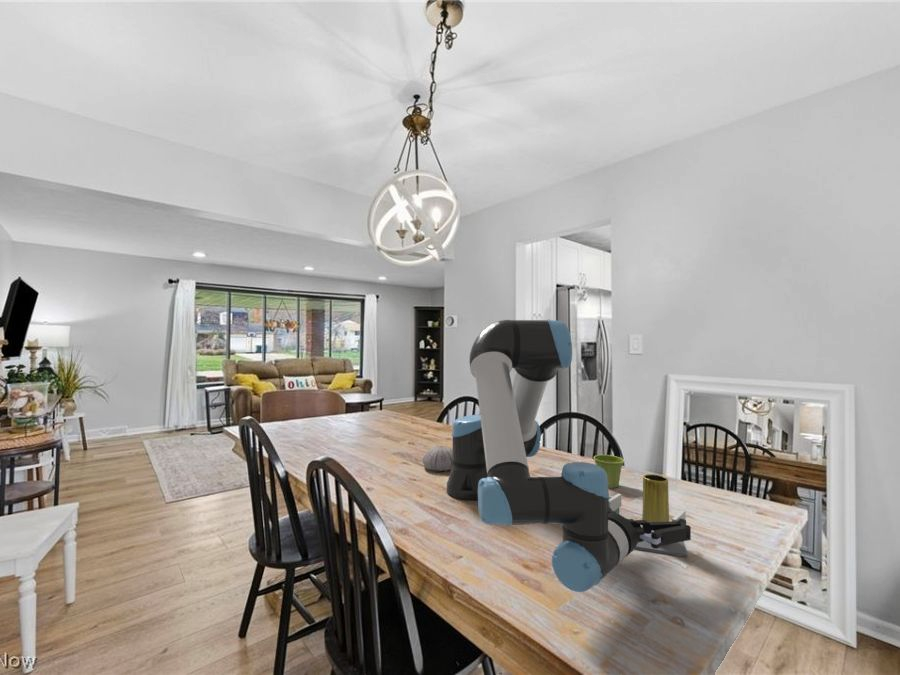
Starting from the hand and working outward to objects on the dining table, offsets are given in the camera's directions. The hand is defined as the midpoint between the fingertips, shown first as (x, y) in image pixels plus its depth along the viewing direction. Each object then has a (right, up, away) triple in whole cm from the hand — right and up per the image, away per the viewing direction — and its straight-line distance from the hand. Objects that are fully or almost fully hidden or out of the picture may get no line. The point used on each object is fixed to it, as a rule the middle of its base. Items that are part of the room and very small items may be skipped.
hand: (650, 507), depth 92 cm
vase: (+3, -9, +3) cm, 10 cm away
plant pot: (+7, -10, +42) cm, 44 cm away
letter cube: (-3, -10, +16) cm, 19 cm away
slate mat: (+3, -9, +3) cm, 10 cm away
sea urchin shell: (-49, -11, +61) cm, 78 cm away
